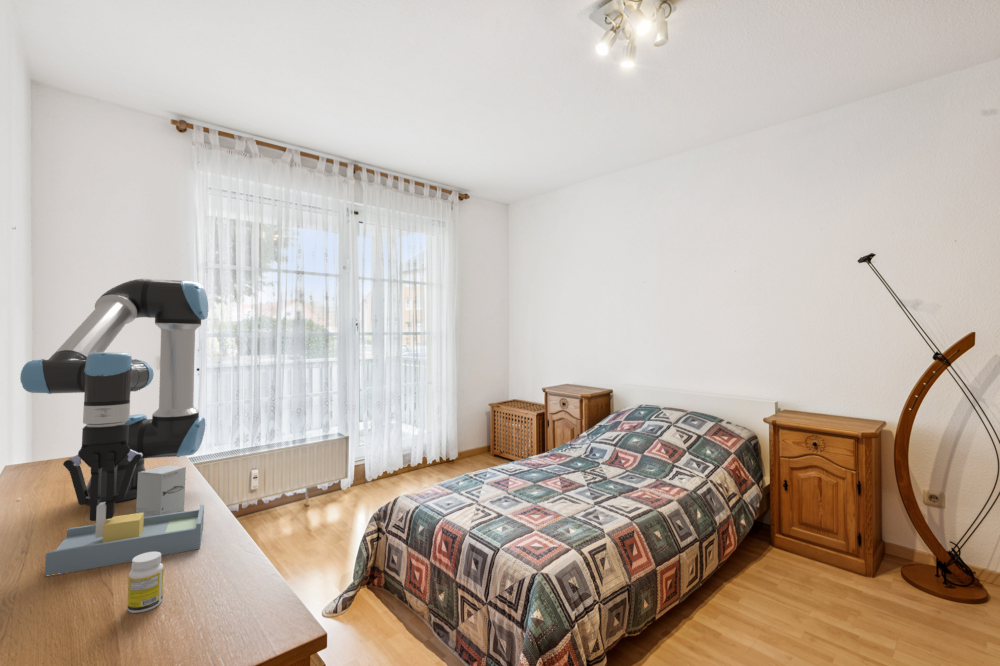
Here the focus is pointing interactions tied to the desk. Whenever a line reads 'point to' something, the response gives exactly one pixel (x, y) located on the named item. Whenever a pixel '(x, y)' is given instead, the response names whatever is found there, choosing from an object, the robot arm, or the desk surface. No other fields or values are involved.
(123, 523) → the block
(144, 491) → the supplement box
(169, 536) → the tray
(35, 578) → the desk surface
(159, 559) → the supplement bottle
